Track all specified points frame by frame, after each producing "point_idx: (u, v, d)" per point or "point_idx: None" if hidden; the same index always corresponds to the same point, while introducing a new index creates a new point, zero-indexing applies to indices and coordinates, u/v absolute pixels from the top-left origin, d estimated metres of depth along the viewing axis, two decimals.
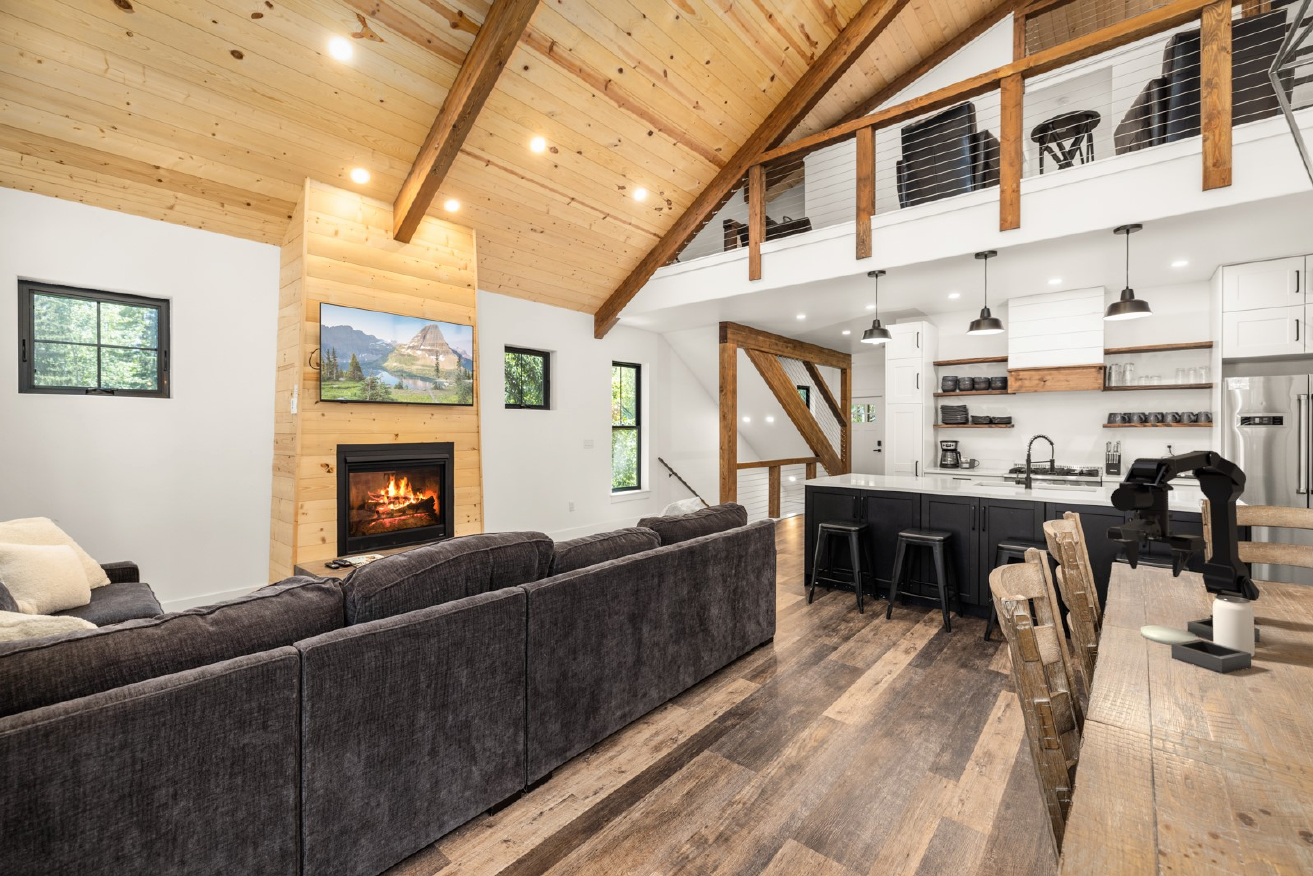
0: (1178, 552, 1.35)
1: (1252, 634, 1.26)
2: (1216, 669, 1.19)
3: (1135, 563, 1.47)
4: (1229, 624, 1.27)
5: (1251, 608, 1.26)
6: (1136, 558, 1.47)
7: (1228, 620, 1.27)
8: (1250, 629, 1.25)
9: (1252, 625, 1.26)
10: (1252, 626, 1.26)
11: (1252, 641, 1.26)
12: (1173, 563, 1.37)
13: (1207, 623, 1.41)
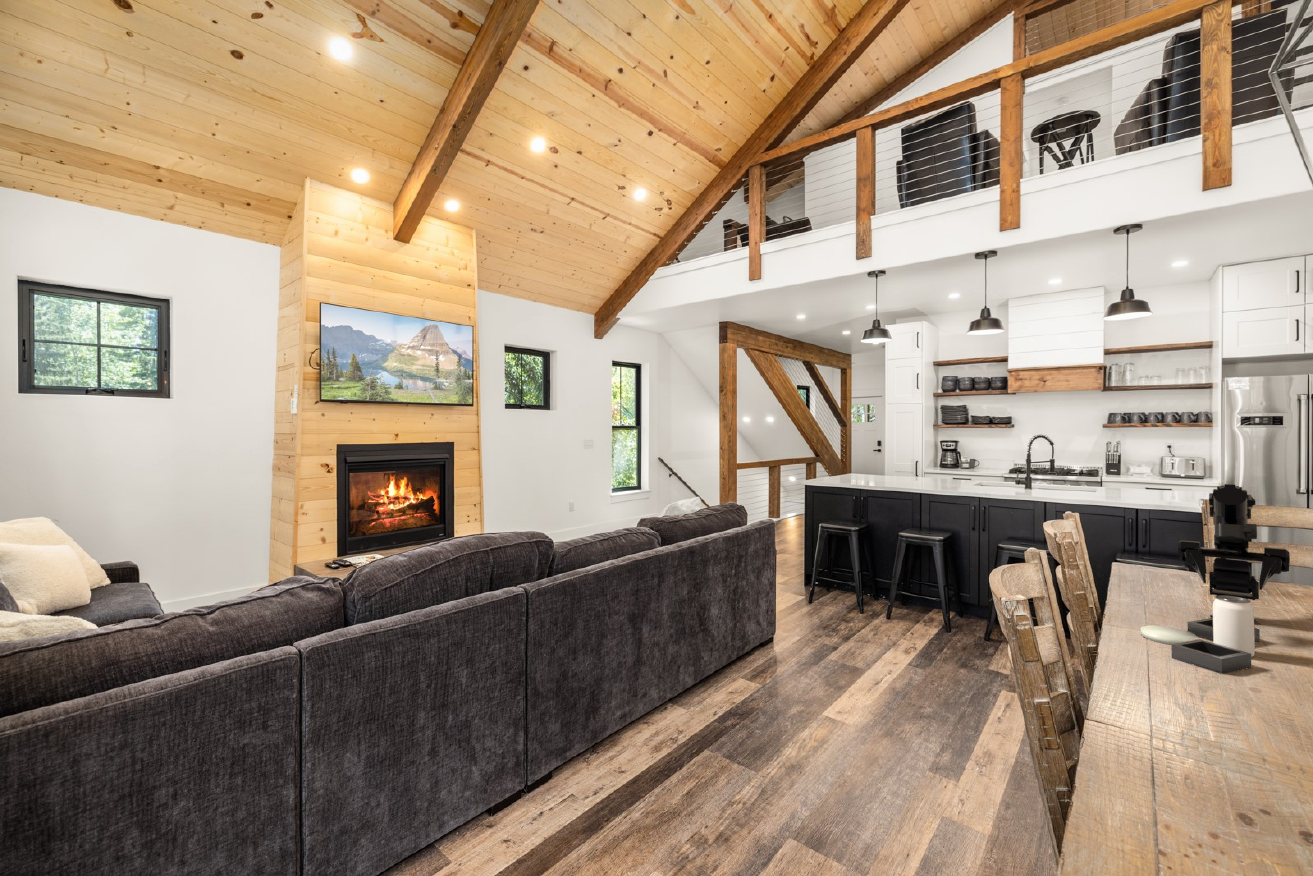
0: (1274, 559, 1.31)
1: (1252, 634, 1.26)
2: (1216, 669, 1.19)
3: (1205, 578, 1.38)
4: (1229, 624, 1.27)
5: (1251, 608, 1.26)
6: None
7: (1228, 620, 1.27)
8: (1250, 629, 1.25)
9: (1252, 625, 1.26)
10: (1252, 626, 1.26)
11: (1252, 641, 1.26)
12: (1262, 573, 1.32)
13: (1207, 623, 1.41)
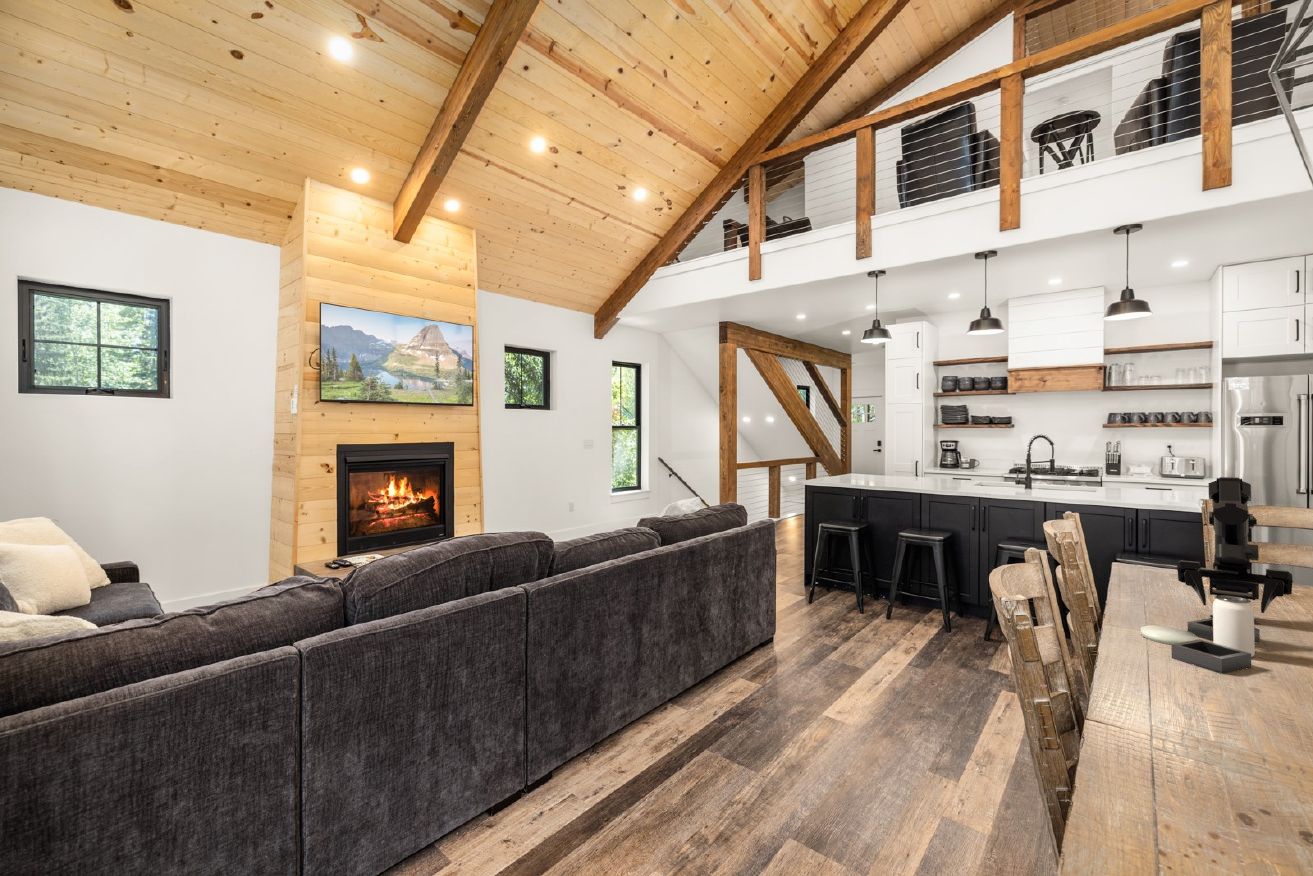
0: (1276, 581, 1.27)
1: (1252, 634, 1.26)
2: (1216, 669, 1.19)
3: (1205, 599, 1.34)
4: (1229, 624, 1.27)
5: (1251, 608, 1.26)
6: None
7: (1228, 620, 1.27)
8: (1250, 629, 1.25)
9: (1252, 625, 1.26)
10: (1252, 626, 1.26)
11: (1252, 641, 1.26)
12: (1263, 596, 1.28)
13: (1207, 623, 1.41)
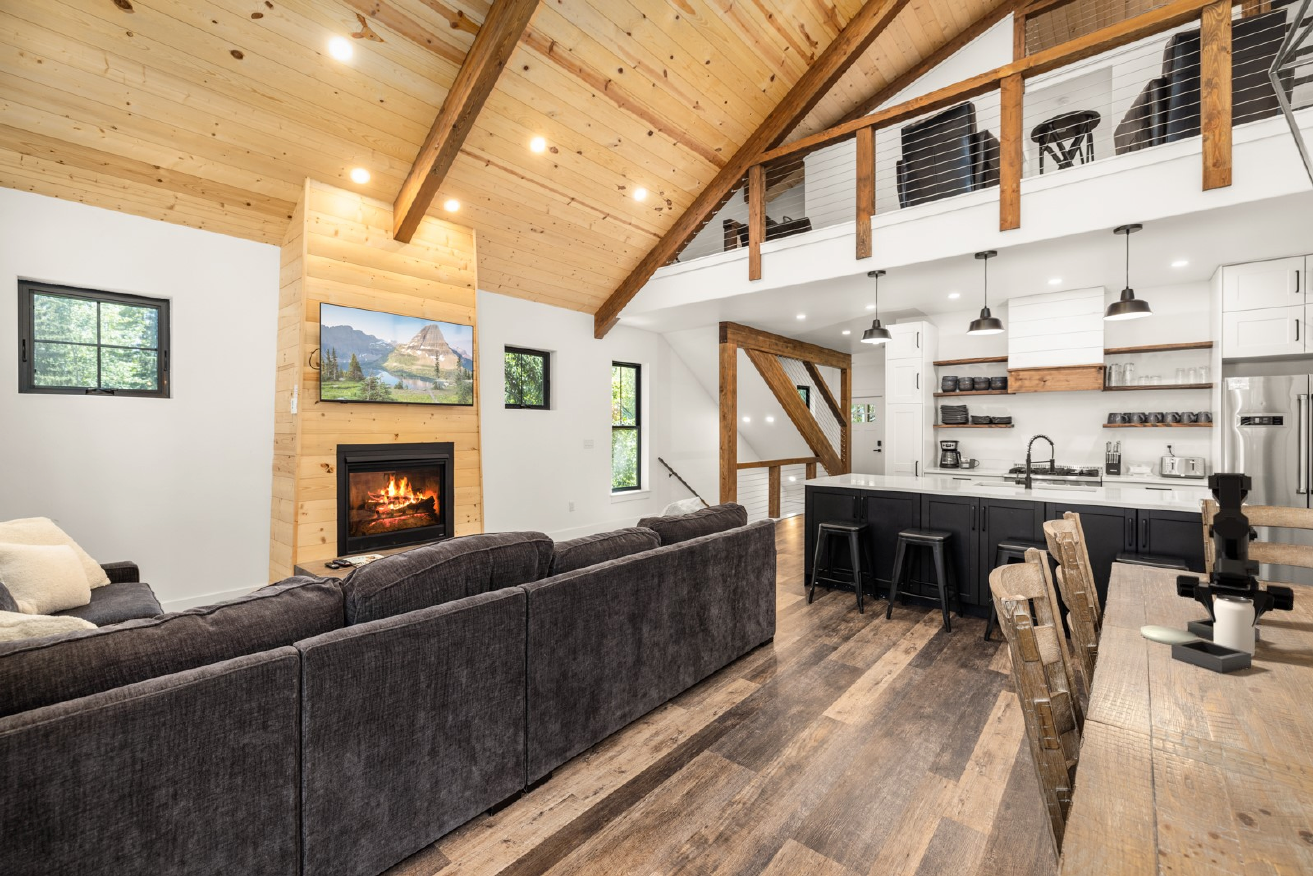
0: (1265, 596, 1.26)
1: (1253, 634, 1.26)
2: (1216, 669, 1.19)
3: None
4: (1230, 623, 1.27)
5: (1252, 608, 1.26)
6: None
7: (1229, 620, 1.27)
8: (1251, 629, 1.25)
9: None
10: (1253, 626, 1.26)
11: (1252, 641, 1.26)
12: None
13: (1207, 623, 1.41)
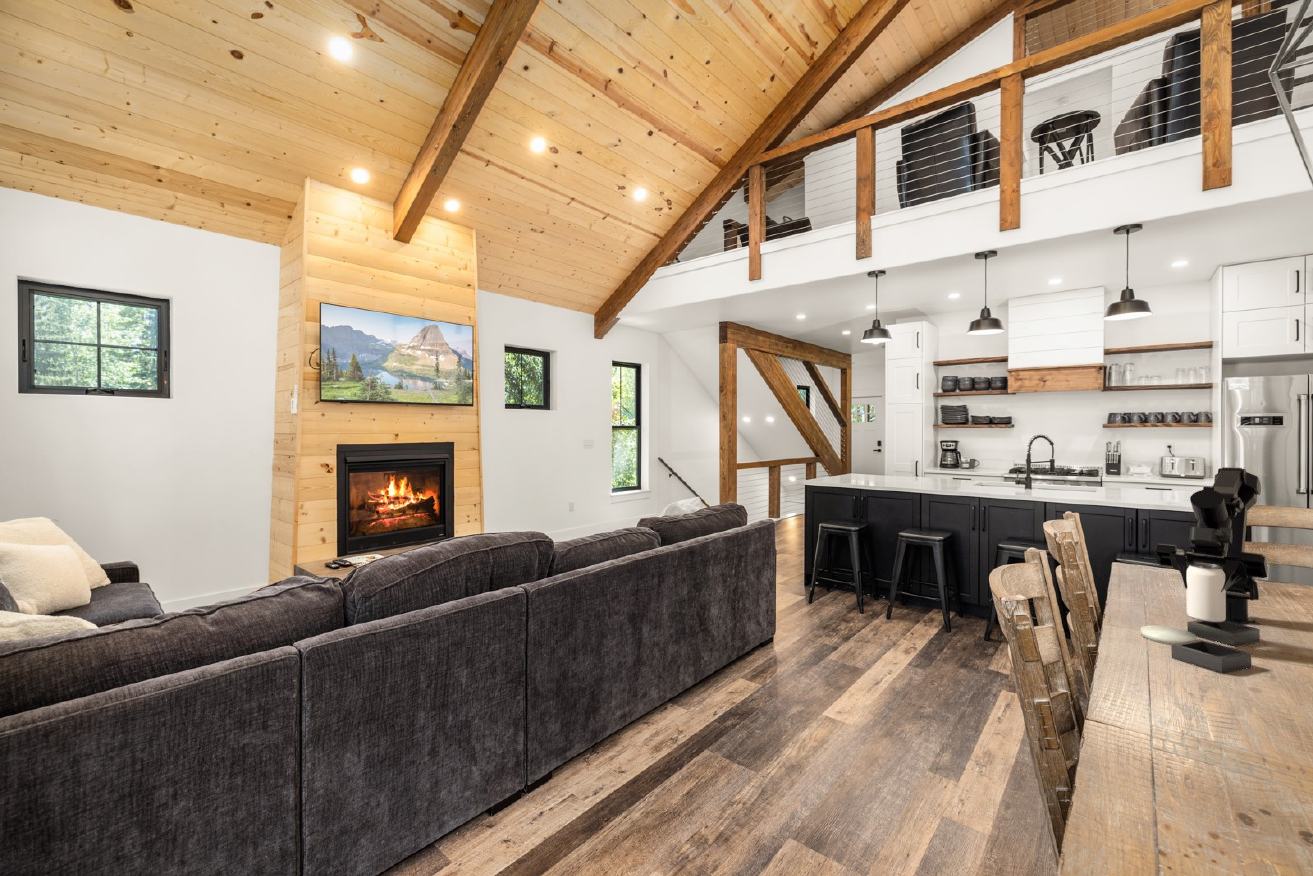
0: (1236, 563, 1.29)
1: (1222, 599, 1.29)
2: (1216, 669, 1.19)
3: None
4: (1198, 589, 1.31)
5: (1222, 574, 1.29)
6: None
7: (1198, 585, 1.31)
8: (1220, 594, 1.29)
9: (1222, 591, 1.29)
10: (1222, 592, 1.29)
11: (1222, 606, 1.29)
12: None
13: (1207, 623, 1.41)
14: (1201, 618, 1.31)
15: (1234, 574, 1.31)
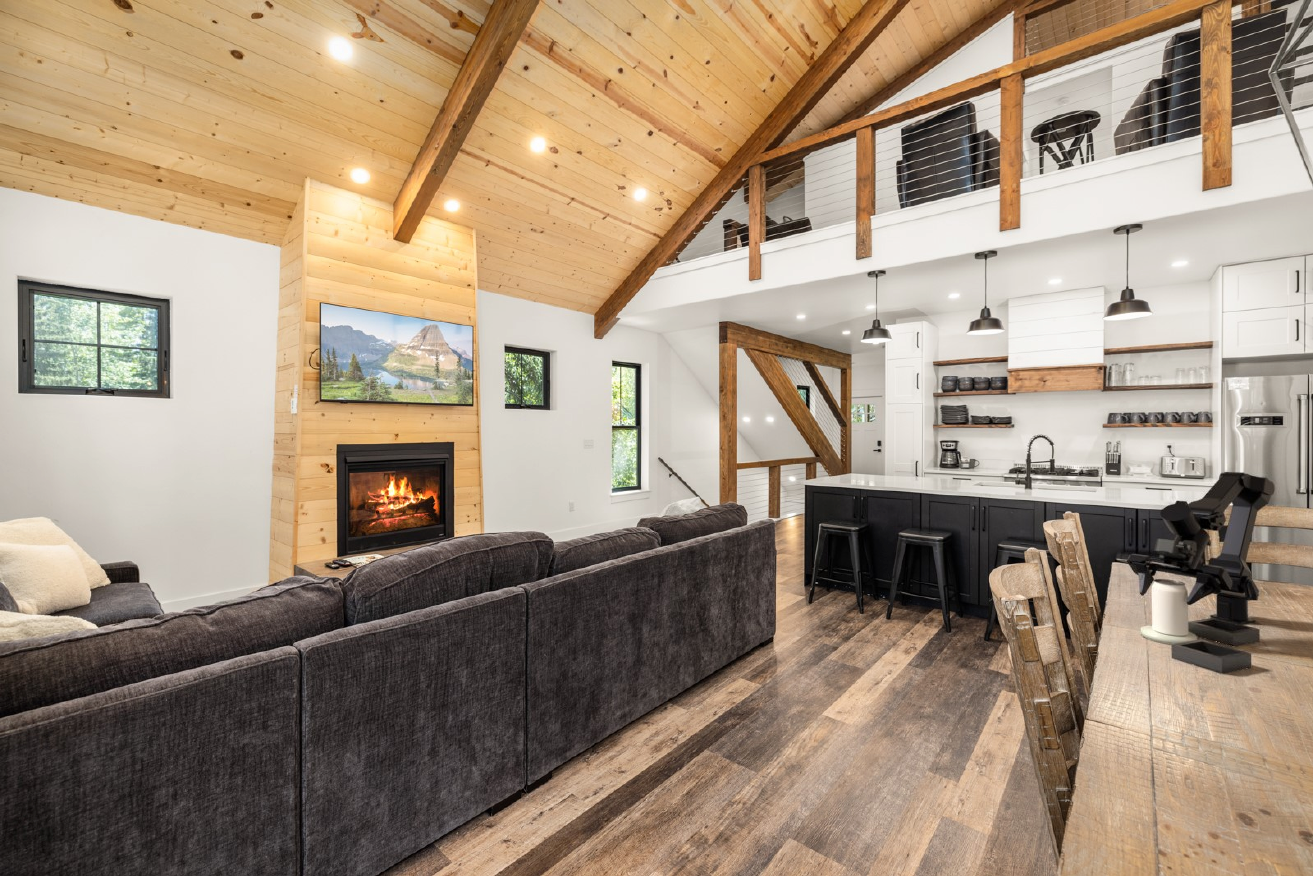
0: (1206, 576, 1.33)
1: (1181, 615, 1.35)
2: (1216, 669, 1.19)
3: (1144, 590, 1.42)
4: (1158, 603, 1.38)
5: (1181, 590, 1.35)
6: (1146, 587, 1.43)
7: (1158, 599, 1.38)
8: (1178, 609, 1.35)
9: (1181, 606, 1.35)
10: (1181, 607, 1.35)
11: (1181, 621, 1.35)
12: (1193, 589, 1.34)
13: (1207, 623, 1.41)
14: (1160, 631, 1.37)
15: (1207, 587, 1.34)
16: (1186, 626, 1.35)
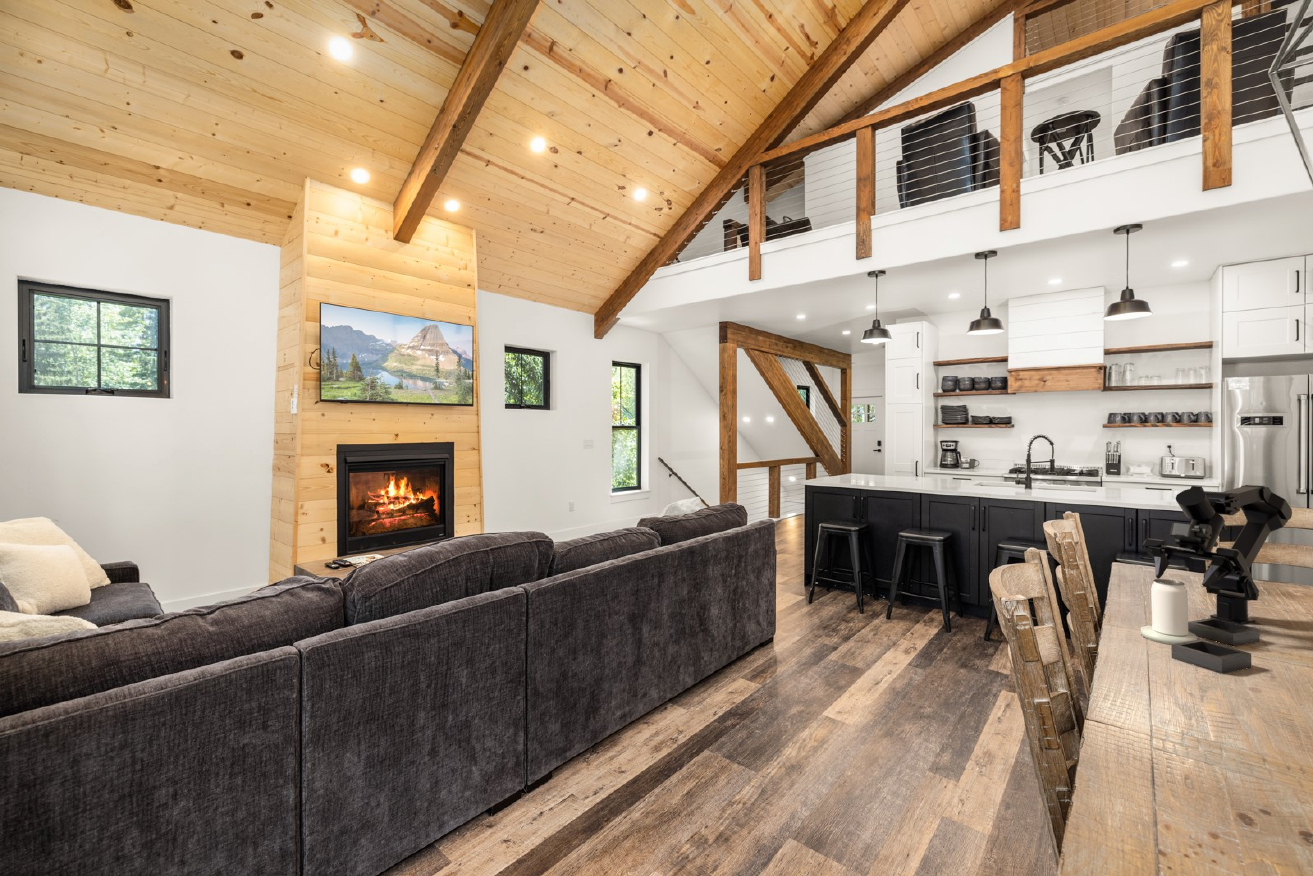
0: (1221, 559, 1.36)
1: (1181, 614, 1.35)
2: (1216, 669, 1.19)
3: (1160, 574, 1.46)
4: (1158, 603, 1.38)
5: (1180, 590, 1.35)
6: (1162, 571, 1.46)
7: (1157, 600, 1.38)
8: (1178, 609, 1.35)
9: (1181, 606, 1.35)
10: (1181, 607, 1.35)
11: (1180, 621, 1.35)
12: (1208, 571, 1.37)
13: (1207, 623, 1.41)
14: (1160, 631, 1.37)
15: (1223, 569, 1.38)
16: (1186, 626, 1.35)
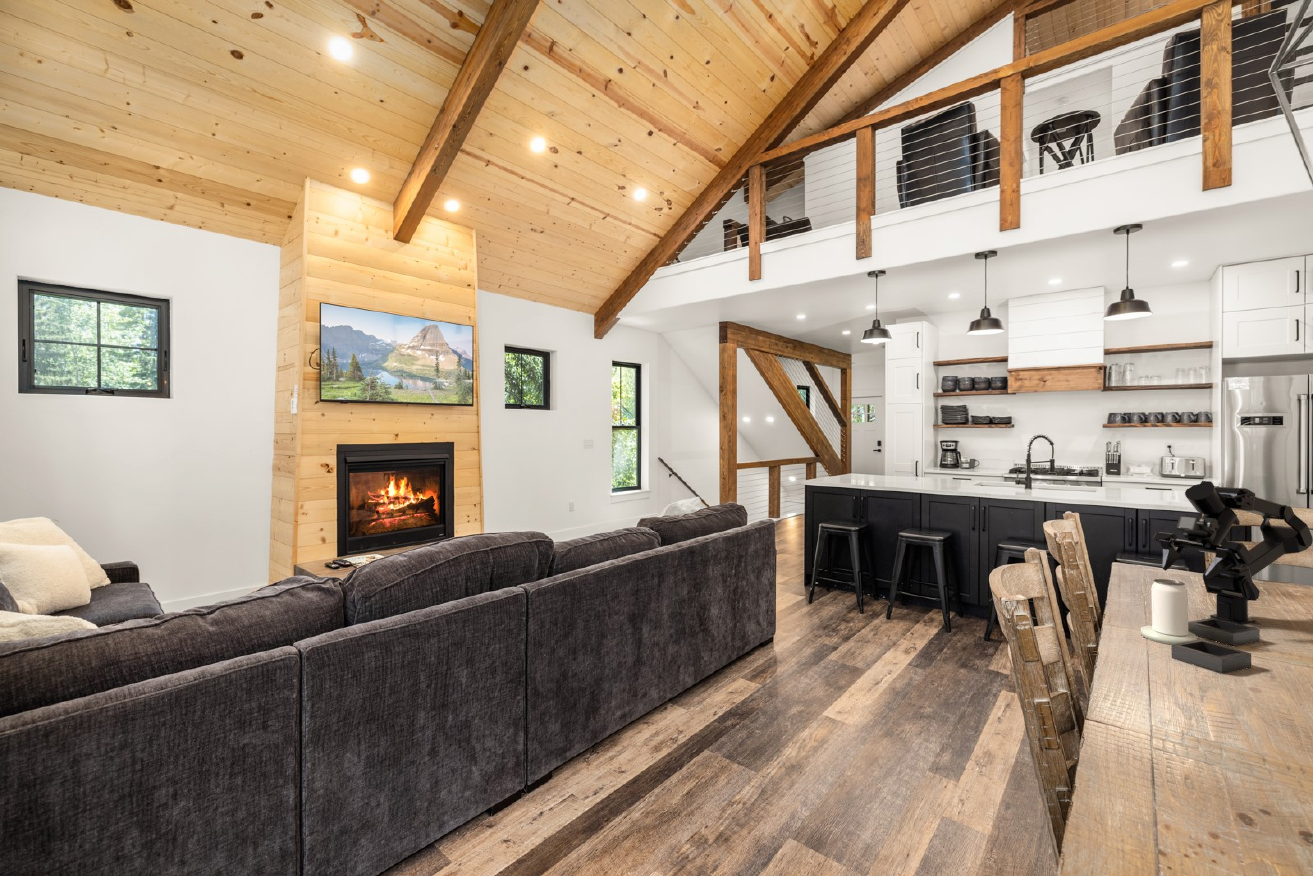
0: (1224, 551, 1.40)
1: (1181, 615, 1.35)
2: (1216, 669, 1.19)
3: (1167, 566, 1.50)
4: (1158, 603, 1.38)
5: (1180, 590, 1.35)
6: (1170, 563, 1.51)
7: (1157, 600, 1.38)
8: (1178, 609, 1.35)
9: (1181, 606, 1.35)
10: (1181, 607, 1.35)
11: (1181, 621, 1.35)
12: (1212, 563, 1.41)
13: (1207, 623, 1.41)
14: (1160, 631, 1.37)
15: (1228, 562, 1.41)
16: (1186, 626, 1.35)
